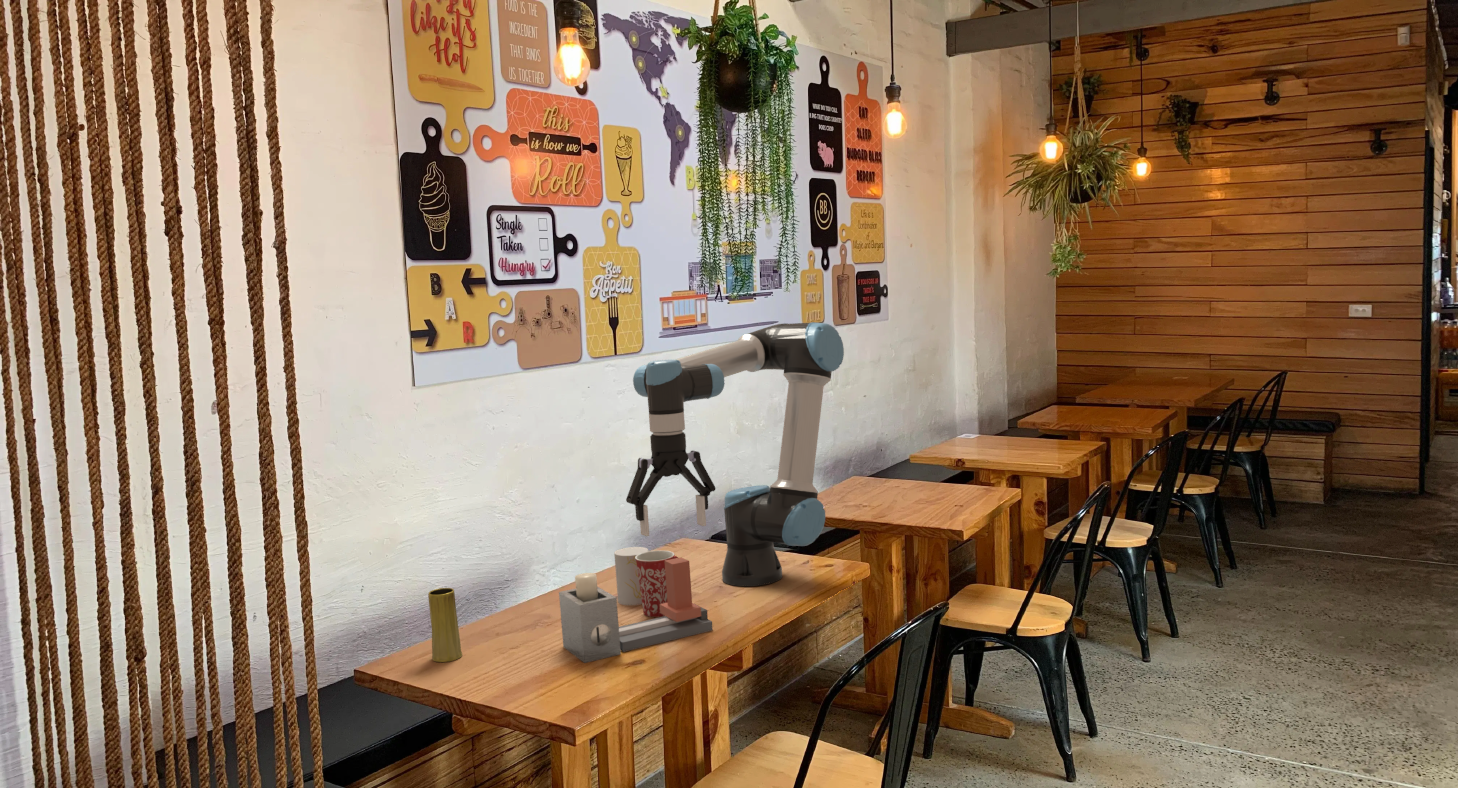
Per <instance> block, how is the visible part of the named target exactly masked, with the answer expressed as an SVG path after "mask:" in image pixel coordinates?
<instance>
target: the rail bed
mask: <svg viewBox="0 0 1458 788" xmlns="http://www.w3.org/2000/svg"><path fill="white" fill-rule="evenodd" d="M694 604H695V605H697V604H696V603H694ZM697 606H699V607H701V616H700V617H696V618H692V619H687V620H683V621H679V622H675V621H674V620H672V619H670V618H668V617H666V616H662V617H654V618H652V619H647V620H642V621H637V622H633V623H630V624H624V625H619V637H620V650H621V651H622V653H624V652H629V651H632V650H637V649H641V648H646V647H649V646H652V645H653V646H654V645H656V644H657V645H658V644H661V643H666V642H669V641H670V642H671V641H674V640H678V639H682V638H687V637H691V636H694V635H695V636H696V635H699V634H703V633H707V632H708V633H709V632H711V631H713V621H712V620H711V619H708V617H709V616H708V610H707V609H706V608H704V607H702V606H700V605H697Z"/></svg>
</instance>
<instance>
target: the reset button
mask: <svg viewBox="0 0 1458 788" xmlns="http://www.w3.org/2000/svg"><path fill="white" fill-rule="evenodd" d="M574 581H575V589H576V595H577V598H578V599H579V600H581V601H582V602H587V601H592V600H597V599H598V589H597V587H598V578H597V573H594V572H584V573H580V574H579V573H578V574H576V575H575V576H574Z"/></svg>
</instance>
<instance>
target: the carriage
mask: <svg viewBox="0 0 1458 788" xmlns="http://www.w3.org/2000/svg"><path fill="white" fill-rule="evenodd" d="M690 566H691V565H690V560H688V559H685V558H683V557H678V558H675V559H670V560H665V575H666V589H667V603H663V604H660V613H661V614H663V615H665V616H666V617H668V618H670V619H672V620H674V621H675V622H679V621H683V620H687V619H692V618H696V617H700V616H701V607H702V606H700V605H698V606H697V604H696V603H693V598H692V597H693V595H692V581H691V567H690ZM695 604H696V605H695ZM699 606H700V607H699Z"/></svg>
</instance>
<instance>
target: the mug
mask: <svg viewBox="0 0 1458 788" xmlns="http://www.w3.org/2000/svg"><path fill="white" fill-rule="evenodd" d="M675 558H679V557H678V556H677V555H676V554H675V552H674V551H670V550H660V549H659V550H648V552H644V553H641V554H638V555H637V556H636V557H635V559H636V563H637V571H638V578H639V584H640V592H641V599H642V604H641V605H642V606H641V607H642V612H643V615H644V616H646V617H649V618H659V617H664V616H665V615H663V614H661V613H660V604H663V603H667V589H666V575H665V560H670V559H675Z"/></svg>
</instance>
